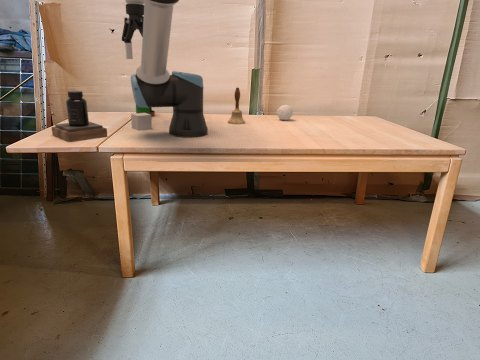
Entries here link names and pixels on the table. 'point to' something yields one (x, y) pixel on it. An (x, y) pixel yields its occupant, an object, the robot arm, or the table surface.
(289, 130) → the table surface
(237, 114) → the hand bell
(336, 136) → the table surface
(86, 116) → the supplement bottle
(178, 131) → the robot arm
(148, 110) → the green spray bottle
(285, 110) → the whitish grey ball
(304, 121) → the table surface
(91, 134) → the walnut plinth
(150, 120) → the grey cube
